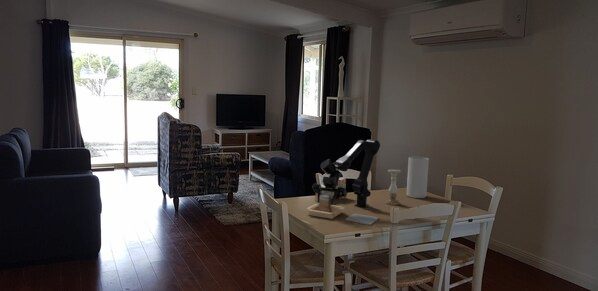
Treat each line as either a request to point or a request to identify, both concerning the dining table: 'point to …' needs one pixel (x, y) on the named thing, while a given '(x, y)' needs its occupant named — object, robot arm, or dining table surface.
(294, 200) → the dining table surface
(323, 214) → the carton
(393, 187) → the candle holder
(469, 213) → the dining table surface
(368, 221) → the rubber mat
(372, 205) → the dining table surface
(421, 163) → the cylinder vase
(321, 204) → the grey rectangular block
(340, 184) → the stack of blocks
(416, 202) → the dining table surface
